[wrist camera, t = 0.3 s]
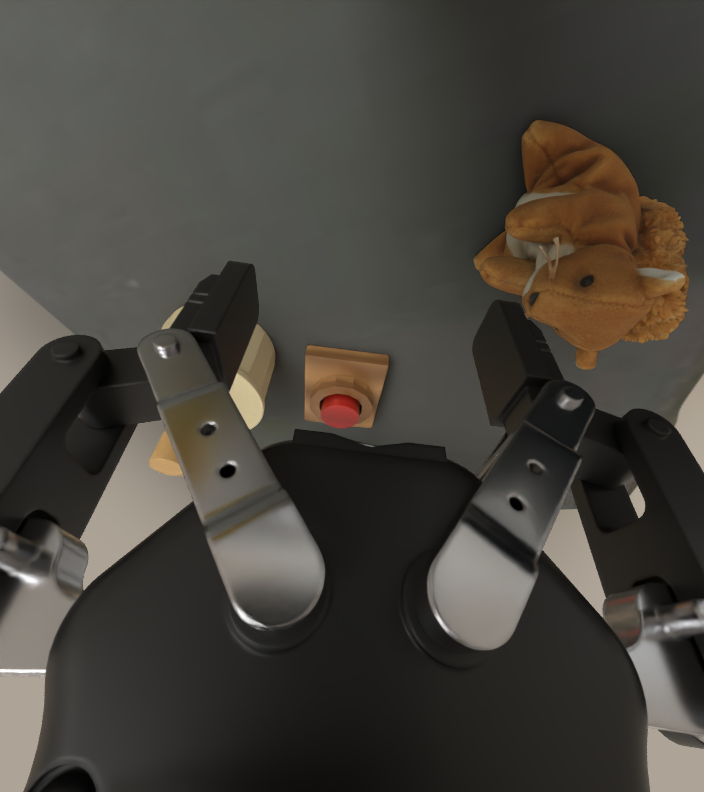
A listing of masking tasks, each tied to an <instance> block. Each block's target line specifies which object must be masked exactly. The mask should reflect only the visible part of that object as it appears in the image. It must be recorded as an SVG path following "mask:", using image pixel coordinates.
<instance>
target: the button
mask: <svg viewBox="0 0 704 792" xmlns="http://www.w3.org/2000/svg"><path fill="white" fill-rule="evenodd" d="M359 410H360V405H359V402H358V401H357V400H356V399H355V398H353V397H351V396H349V395H343V394H333V395H329V396H327V397H326V398H325V399H324V400H323V403H322V409H321V419H322V420H323V422H325V423H326V424H327V425H329V426H332V427H335V428H348V427H352V426H354V425H355V424H356V423H357V422H358V420H359Z"/></svg>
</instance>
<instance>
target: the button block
mask: <svg viewBox="0 0 704 792" xmlns="http://www.w3.org/2000/svg"><path fill="white" fill-rule="evenodd" d="M388 367H389V356H388V355H382V354H375V353H367V352H359V351H351V350H344V349H336V348H328V347H320V346H313V345H307V349H306V353H305V417H304V420H306V421H315V422H323V420H322V419H321V409H322V403H323V400H324V399H325V398H326V397H327V396H329V395H333V394H343V395H349V396H351V397H353V398H355V399H356V400H357V401H358V402H359V405H360V410H359V420H358V422H357V423H356V424H355V425H354V426H357V427H365V428H371V427H372V424H373V420H374V417H375V413H376V410H377V406H378V402H379V399H380V395H381V392H382V388H383V385H384V381H385V377H386V374H387V370H388ZM323 423H325V422H323Z"/></svg>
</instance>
